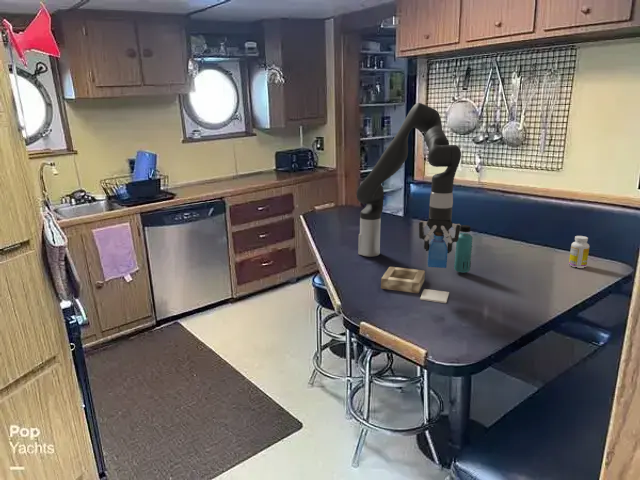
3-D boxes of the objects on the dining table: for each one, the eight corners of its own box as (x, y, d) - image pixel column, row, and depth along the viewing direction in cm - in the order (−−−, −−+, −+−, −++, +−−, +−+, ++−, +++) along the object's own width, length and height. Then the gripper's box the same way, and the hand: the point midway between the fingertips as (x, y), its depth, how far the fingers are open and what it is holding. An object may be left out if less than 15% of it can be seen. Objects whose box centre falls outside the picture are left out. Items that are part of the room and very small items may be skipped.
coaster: (420, 299, 164) (420, 298, 163) (424, 290, 172) (424, 288, 171) (446, 303, 160) (446, 301, 160) (449, 293, 168) (449, 292, 168)
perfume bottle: (446, 268, 159) (448, 234, 156) (427, 266, 160) (430, 233, 157) (445, 262, 165) (447, 229, 162) (427, 261, 166) (429, 228, 163)
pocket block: (380, 288, 174) (381, 278, 173) (389, 275, 186) (389, 266, 185) (418, 293, 169) (419, 283, 168) (424, 280, 182) (425, 270, 180)
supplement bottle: (585, 265, 197) (590, 236, 193) (586, 270, 191) (591, 240, 188) (567, 263, 200) (572, 234, 196) (568, 267, 194) (573, 238, 190)
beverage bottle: (461, 277, 184) (465, 228, 179) (449, 272, 190) (453, 224, 184) (473, 274, 187) (477, 226, 182) (461, 269, 193) (465, 223, 187)
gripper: (417, 205, 156) (415, 252, 160) (462, 208, 151) (458, 257, 156) (421, 201, 162) (418, 246, 167) (463, 204, 158) (460, 250, 162)
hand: (437, 251), depth 161 cm, fingers closed on perfume bottle, 6 cm apart
